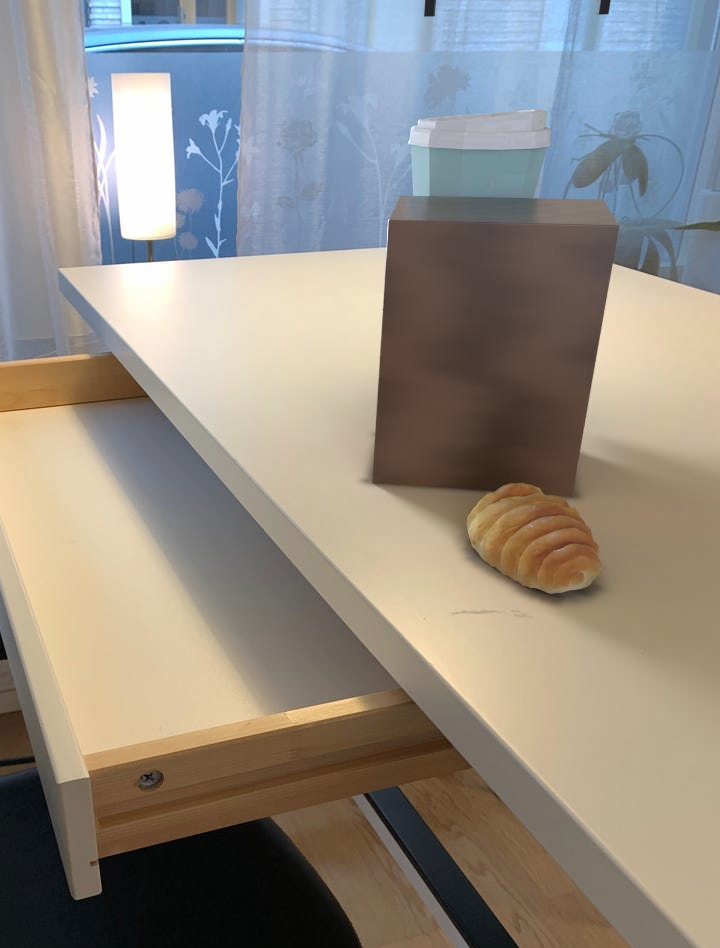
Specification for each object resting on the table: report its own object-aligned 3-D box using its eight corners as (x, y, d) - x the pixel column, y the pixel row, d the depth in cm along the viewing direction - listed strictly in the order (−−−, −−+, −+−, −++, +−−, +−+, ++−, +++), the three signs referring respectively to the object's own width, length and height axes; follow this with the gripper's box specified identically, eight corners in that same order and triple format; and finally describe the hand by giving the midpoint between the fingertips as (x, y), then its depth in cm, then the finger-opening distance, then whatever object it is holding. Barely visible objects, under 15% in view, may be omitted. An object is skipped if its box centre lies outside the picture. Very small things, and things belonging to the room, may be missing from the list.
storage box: (553, 390, 91) (587, 171, 82) (571, 498, 71) (619, 225, 62) (396, 382, 94) (412, 169, 84) (372, 484, 74) (388, 220, 64)
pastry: (628, 591, 60) (640, 533, 58) (525, 609, 58) (533, 550, 56) (544, 526, 67) (552, 472, 65) (451, 540, 66) (457, 486, 64)
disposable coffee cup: (377, 326, 80) (390, 113, 72) (413, 296, 89) (428, 102, 81) (513, 339, 77) (542, 116, 69) (537, 306, 85) (565, 104, 77)
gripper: (733, -339, 72) (670, 13, 83) (380, -315, 76) (365, 16, 88) (756, -372, 66) (684, 13, 77) (370, -343, 70) (355, 17, 81)
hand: (514, 16), depth 82 cm, fingers open, 13 cm apart
